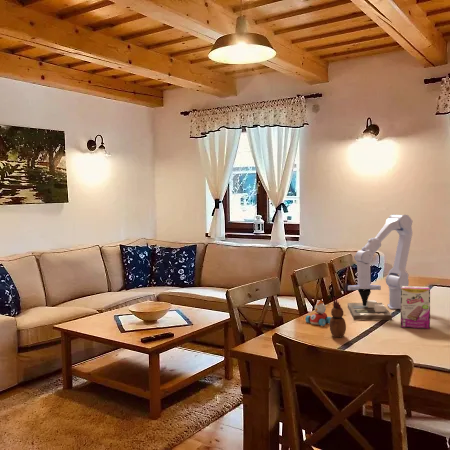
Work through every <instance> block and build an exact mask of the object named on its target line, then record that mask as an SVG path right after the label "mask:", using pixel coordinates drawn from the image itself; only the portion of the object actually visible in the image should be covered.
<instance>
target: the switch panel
mask: <svg viewBox="0 0 450 450" xmlns="http://www.w3.org/2000/svg"><path fill="white" fill-rule="evenodd" d="M377 304H383V302H377ZM347 308H348V311H349V312H350V315H351V317H352V319H353V321H392V320H393V316H392V314H391V312H390V311H389V310H388V309H387V307H386V306H385V312H375V310H374V308H368V307H367V304H366V306H363V302H347Z"/></svg>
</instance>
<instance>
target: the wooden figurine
mask: <svg viewBox="0 0 450 450" xmlns="http://www.w3.org/2000/svg"><path fill="white" fill-rule="evenodd" d="M332 298H333V299H332V301H333V302H332V303H333V305H332V306H333V307H332V308H331V313H330V314H331V316H330V317H331V319H330V324H329V331H330V334H331V336H332V337H334V338H342V337H344V336H345V334H346V331H347V324H346V320H345V319H344V310H343V308H342V306H341V304H340V302H339V301H338V299H337V298H336V299H335V297H332Z"/></svg>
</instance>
